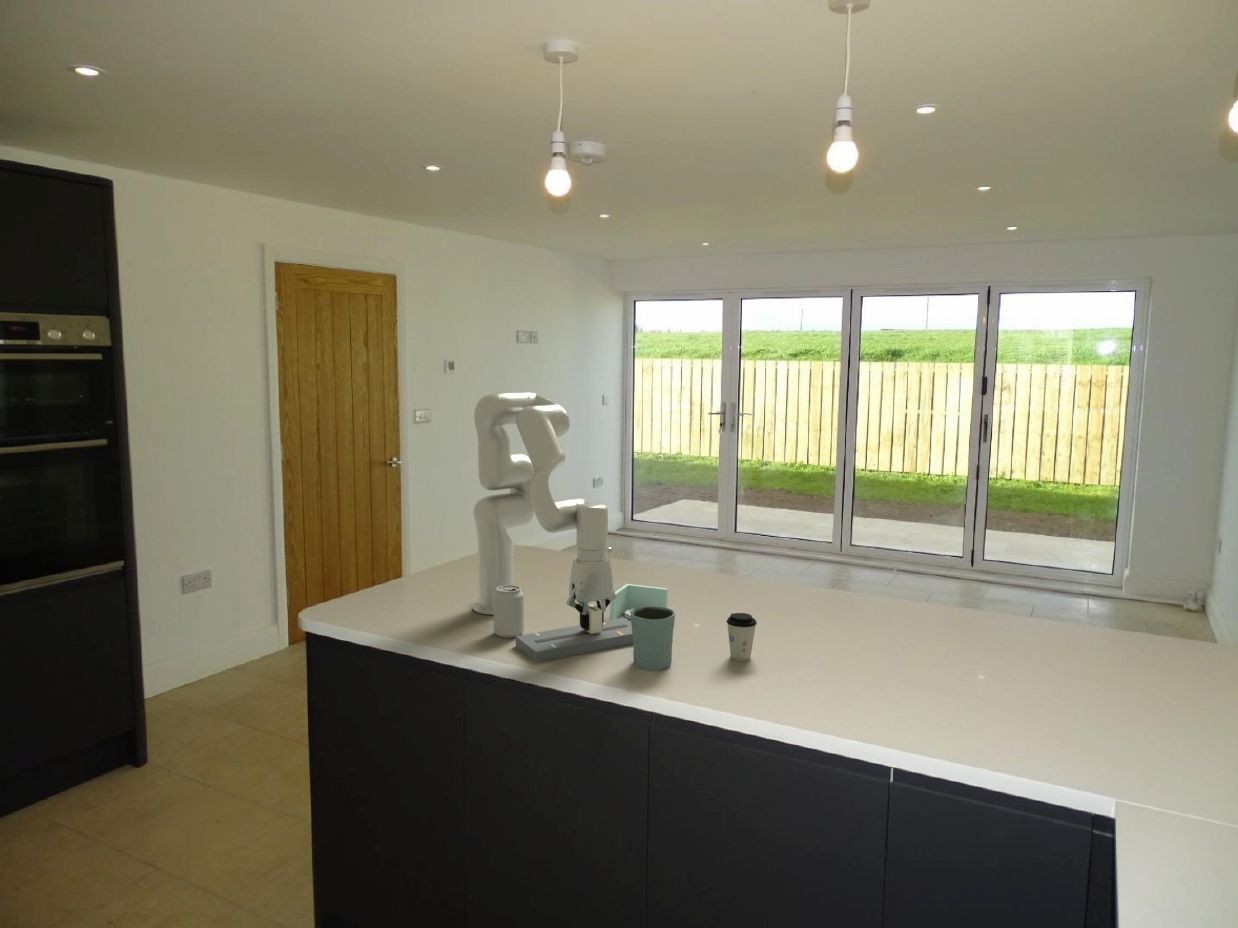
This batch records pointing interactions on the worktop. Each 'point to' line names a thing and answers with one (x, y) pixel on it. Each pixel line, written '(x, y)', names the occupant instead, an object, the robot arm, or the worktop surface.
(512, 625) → the can
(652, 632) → the teal embossed cup
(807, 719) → the worktop surface
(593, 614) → the fader tab
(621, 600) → the right angle wall
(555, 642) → the fader console
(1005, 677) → the worktop surface
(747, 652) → the coffee cup
